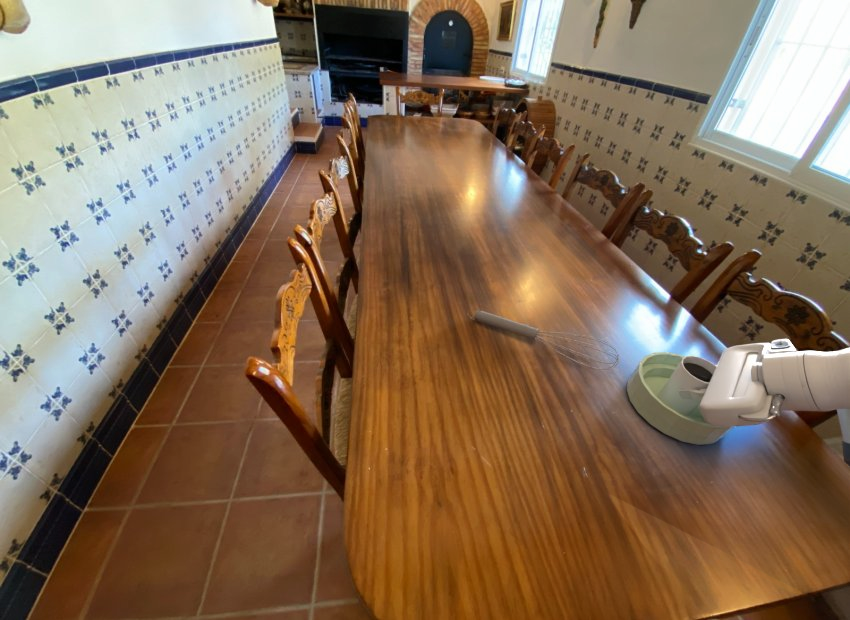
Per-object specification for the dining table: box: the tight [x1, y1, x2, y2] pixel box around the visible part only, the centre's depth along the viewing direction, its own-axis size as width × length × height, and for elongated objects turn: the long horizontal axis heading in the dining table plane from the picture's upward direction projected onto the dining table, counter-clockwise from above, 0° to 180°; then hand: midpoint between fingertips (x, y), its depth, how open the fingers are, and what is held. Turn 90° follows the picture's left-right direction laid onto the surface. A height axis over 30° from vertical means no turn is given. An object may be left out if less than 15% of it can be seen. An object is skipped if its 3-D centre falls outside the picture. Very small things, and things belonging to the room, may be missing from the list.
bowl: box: [626, 351, 736, 446], centre depth 68 cm, size 17×17×6 cm
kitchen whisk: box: [466, 308, 620, 371], centre depth 79 cm, size 6×34×6 cm, turn 62°
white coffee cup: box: [658, 355, 717, 416], centre depth 66 cm, size 7×7×10 cm
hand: (685, 384), depth 66 cm, fingers closed on white coffee cup, 4 cm apart
